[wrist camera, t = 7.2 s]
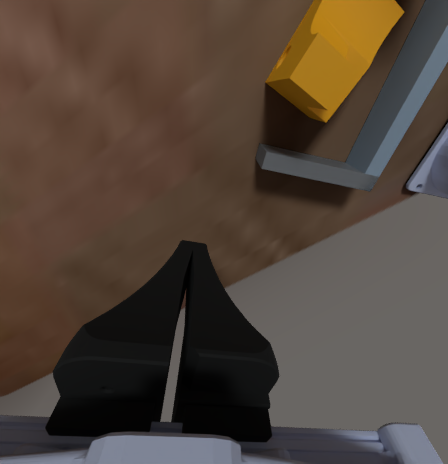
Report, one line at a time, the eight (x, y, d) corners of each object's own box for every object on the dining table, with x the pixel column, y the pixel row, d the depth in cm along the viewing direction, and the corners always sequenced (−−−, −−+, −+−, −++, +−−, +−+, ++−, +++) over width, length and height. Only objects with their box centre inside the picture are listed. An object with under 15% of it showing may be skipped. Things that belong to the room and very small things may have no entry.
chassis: (549, -198, 10) (656, -290, 8) (350, 178, 20) (370, 191, 17) (381, -290, 9) (445, -435, 7) (255, 158, 19) (261, 168, 16)
